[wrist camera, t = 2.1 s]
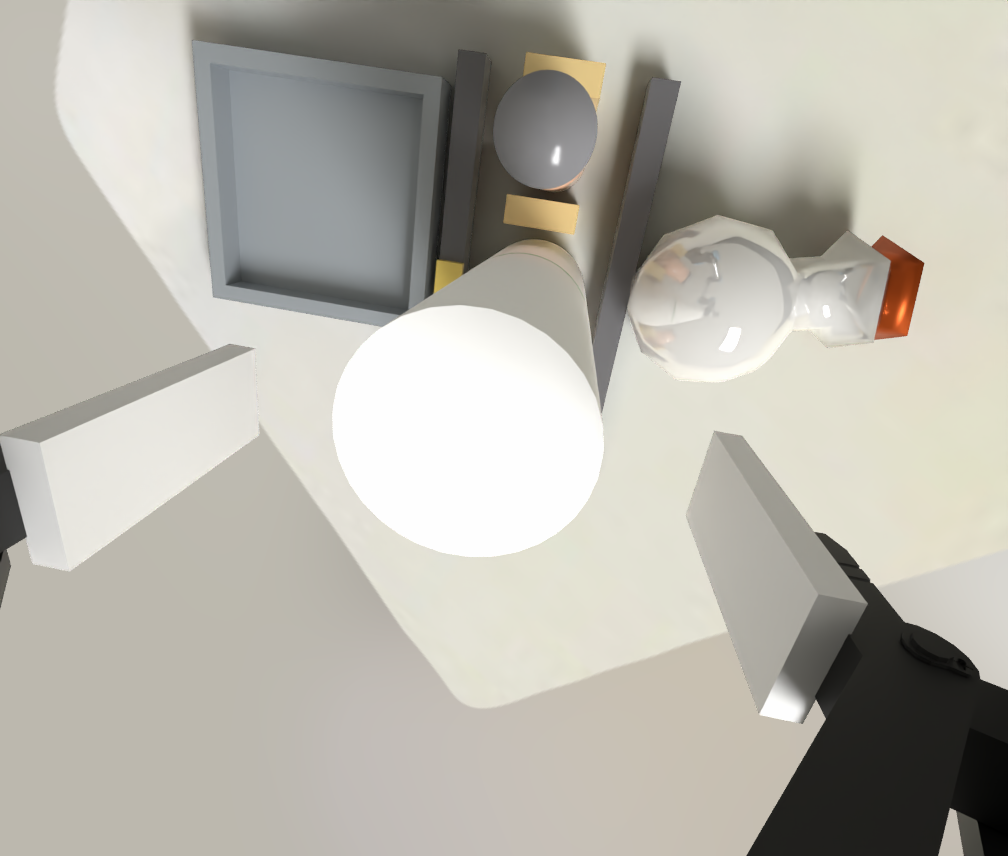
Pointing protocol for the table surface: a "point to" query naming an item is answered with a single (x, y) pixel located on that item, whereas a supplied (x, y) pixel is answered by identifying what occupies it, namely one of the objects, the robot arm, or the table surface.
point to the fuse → (545, 130)
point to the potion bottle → (762, 297)
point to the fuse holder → (550, 213)
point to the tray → (320, 181)
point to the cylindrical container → (478, 408)
